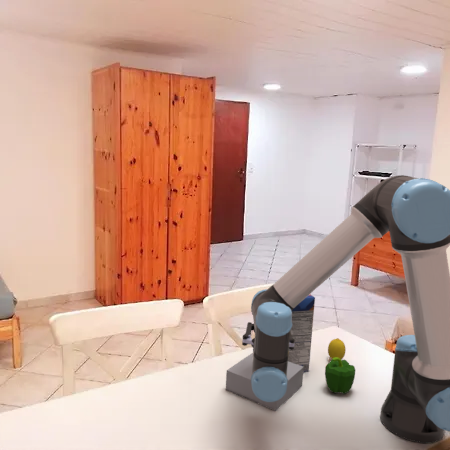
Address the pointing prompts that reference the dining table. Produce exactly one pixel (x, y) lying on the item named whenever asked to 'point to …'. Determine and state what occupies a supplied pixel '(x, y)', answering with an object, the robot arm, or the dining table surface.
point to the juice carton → (302, 332)
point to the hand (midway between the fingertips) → (267, 318)
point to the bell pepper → (339, 375)
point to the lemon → (336, 349)
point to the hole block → (241, 384)
